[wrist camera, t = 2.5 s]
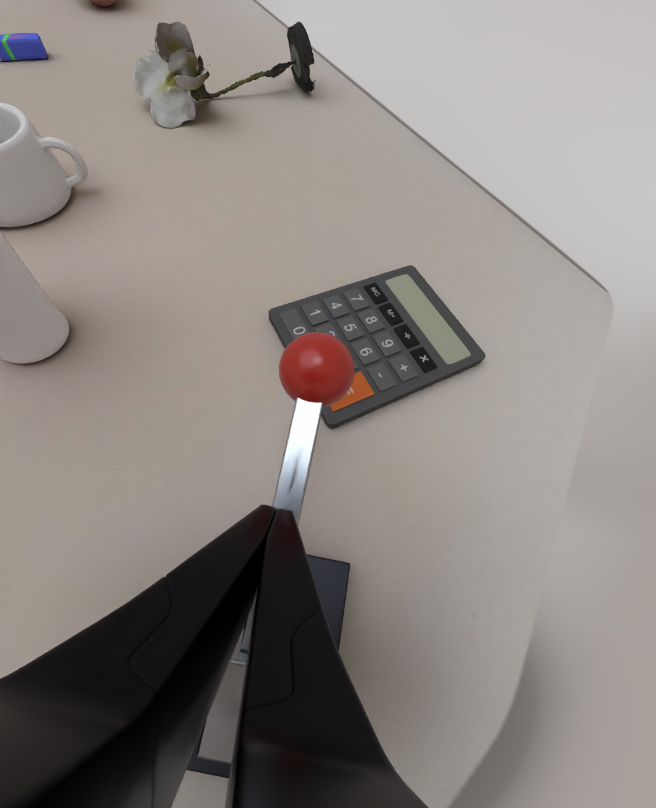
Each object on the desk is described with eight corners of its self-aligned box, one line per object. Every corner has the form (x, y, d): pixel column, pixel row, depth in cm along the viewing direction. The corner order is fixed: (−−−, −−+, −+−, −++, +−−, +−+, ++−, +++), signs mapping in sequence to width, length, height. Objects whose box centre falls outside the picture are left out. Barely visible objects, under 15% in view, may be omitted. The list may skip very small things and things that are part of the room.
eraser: (-5, 55, 44) (-17, 33, 43) (47, 53, 46) (37, 32, 44) (-5, 62, 44) (-17, 40, 42) (48, 60, 45) (38, 38, 43)
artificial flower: (323, 115, 48) (331, 27, 38) (166, 161, 44) (131, 76, 34) (297, 64, 49) (299, -35, 39) (142, 105, 45) (100, 6, 35)
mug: (-49, 235, 30) (-123, 162, 25) (-28, 170, 34) (-88, 95, 29) (99, 225, 32) (61, 156, 27) (102, 165, 36) (69, 95, 31)
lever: (290, 342, 16) (285, 311, 13) (355, 356, 16) (366, 327, 13) (206, 697, 13) (173, 766, 10) (286, 713, 13) (279, 788, 10)
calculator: (266, 308, 28) (412, 262, 33) (267, 316, 29) (410, 270, 33) (330, 425, 24) (488, 355, 28) (329, 429, 25) (483, 361, 29)
